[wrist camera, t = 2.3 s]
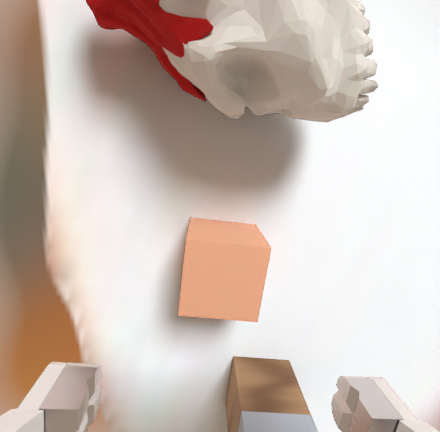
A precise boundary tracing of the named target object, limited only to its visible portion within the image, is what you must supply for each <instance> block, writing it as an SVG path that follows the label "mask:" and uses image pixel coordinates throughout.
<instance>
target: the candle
mask: <svg viewBox="0 0 440 432" xmlns="http://www.w3.org/2000/svg"><path fill="white" fill-rule="evenodd" d="M86 2H87V4H88V6H89V7H90V9H91V10H92V12H93V14H94V16H95V18H96V21H97V23H98V25H99V26H100V27H101V28H104V29H111V30H113V29H124V30H125V31H127V32H128V33H130V34H132V35H133V36H135V37H136V38H138V39H140V40H141V41H143V42H145V43H146V44H147V45H148V46H149V47H150V48H151V49H152V50H153V52H154V53H155V55H156V57H157V58H158V60H159V62H160V63H161V65H162V66H163V68H164V69H165V70H166V71H167V72H168V73H169V74H170V75H171V76H172V77H173V78H174V79H175V80H176V81H177V82H178V84H179V86H180V87H181V88H182V90H184V91H186V92H187V93H189V94H191V95H193V96H195V97H197V98H199V99H201V100H203V101H205V102H206V99H207V100H208V101H209V103H210V104H212V105H213V106H214V107H215V108H216V109H217V110H218V111H220V112H221V113H223V114H225V115H226V116H228V117H230V118H237V119H238V118H240V117H241V116H242V115H243V114H244V112H245V110H244V109H245V107H248V108H249V109H250V111H251V112H252V113H253V114H254V115H257V116H260V115H264V114H271V113H278V112H279V113H282V114H283V116H286V117H290V118H293V119H303V120H309V121H317V122H329V121H332V120H335V119H338V118H340V117H344V116H346V115H348V114H351V113H354V112H356V111H359V110H362V109H363V106H364V105H365V104H366V103H367V102H368V101H369V96H367V95H362V94H366V93H370V92H373V91H374V90H375V89H376V88H377V87H378V84H377V83H376V81H374V80H367V79H366V78H368V77H371V76H374V75H375V74H376V69H377V63H376V62H375V61H374V60H370V59H366V58H365V57H366V56H368V55H370V54H371V53H372V52H373V43H372V39H370V38H369V37H368V36H367V34H368V33H369V29H370V21H369V20H368V19H366V18H365V17H364V16H363V15H364V12H365V8H364V6H363V5H362V4H361V2H360V1H356V0H86Z"/></svg>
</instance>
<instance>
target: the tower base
mask: <svg viewBox="0 0 440 432" xmlns="http://www.w3.org/2000/svg"><path fill="white" fill-rule="evenodd" d="M241 411H250V412H268V413H287V414H305V415H311V414H310V412H309V409H308V407H307V404H306V402H305V399H304V397H303V394H302V392H301V389H300V387H299V384H298V382H297V379H296V377H295V374H294V372H293V369H292V367H291V364H290V362H289V360H277V359H262V358H248V357H233V362H232V368H231V374H230V380H229V385H228V391H227V397H226V413H227V425H228V432H238V427H239V421H240V416H241Z"/></svg>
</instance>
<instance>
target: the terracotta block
mask: <svg viewBox="0 0 440 432" xmlns="http://www.w3.org/2000/svg"><path fill="white" fill-rule="evenodd" d="M270 252H271V247H270V245H269V244H268V242H267V241H266V239H265V238H264V236H263V235H262V233H261V232H260V230H259V229H258V227H257V226H256V225H254V224H245V223H236V222H227V221H218V220H209V219H200V218H191V217H190V222H189V227H188V232H187V237H186V244H185V253H184V263H183V272H182V282H181V291H180V301H179V310H178V316H188V317H201V318H213V319H226V320H238V321H250V322H258V316H259V311H260V306H261V300H262V295H263V290H264V284H265V279H266V274H267V268H268V263H269V257H270Z"/></svg>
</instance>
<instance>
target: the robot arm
mask: <svg viewBox="0 0 440 432" xmlns="http://www.w3.org/2000/svg"><path fill="white" fill-rule="evenodd" d="M101 376H102V366H101V365H96V364H82V363H62V362H51V363H50V364H49V365H48V366H47V367H46V368H45V370H44V371H43V373H42V374H41V375H40V377H39V378H38V380H37V381H36V383H35V384H34V385H33V387H32V388H31V390H30V391H29V392H28V394H27V396H26V397H25V398H24V400H23V401H22V402H21V404H20V405H19V407H18V408H17V409H11V410H9V411H7V412H6V413H4V414H3V415H1V416H0V432H88V426H89V425H90V424H91V423H93V422H94V419H95V416H96V414H97V411H98V407H99V403H100V398H101V388H102V386H101V385H100V384H99V381H100V378H101ZM336 386H337V388H338V390H339V391H338V392H336V393H335V394H334V395H333V399H332V403H331V404H332V414H333V417H334V420H335V422H336V424H337V426H338V428H339V429H340V430H341V431H342V432H439V431H437V430H436V429H434V428H433V427H432V426H430V425H429V424H427V423H426V422H424V421H419V420H418V419H417V418H416V416H415V415H414V414H413V413H412V412H411V410H410V409H409V408H408V407H407V406H406V404H405V403H404V402H403V401H402V399H401V398H400V397H399V396H398V395H397V393H396V392H395V391H394V390H393V388H392V387H391V386H390V385H389V384H388V382H387V381H386V380H385V379H383V378H382V377H355V376H340V377H339V378H338V380H337V384H336Z"/></svg>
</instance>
